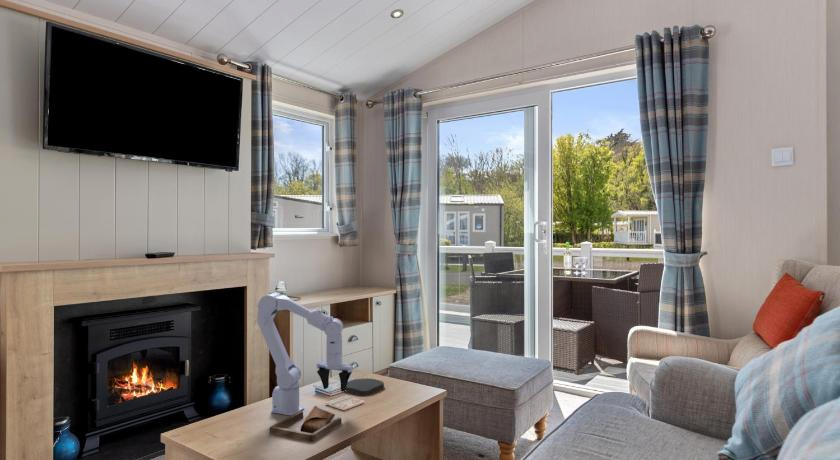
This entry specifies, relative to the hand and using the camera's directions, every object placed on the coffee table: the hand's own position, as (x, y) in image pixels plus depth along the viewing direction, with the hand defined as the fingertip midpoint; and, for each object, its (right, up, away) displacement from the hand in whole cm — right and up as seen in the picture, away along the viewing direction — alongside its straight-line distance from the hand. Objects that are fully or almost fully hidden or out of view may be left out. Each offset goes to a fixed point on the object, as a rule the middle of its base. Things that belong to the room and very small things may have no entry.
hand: (334, 389), depth 185 cm
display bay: (-7, -8, -16) cm, 19 cm away
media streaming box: (+8, -9, +26) cm, 29 cm away
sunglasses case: (-4, -9, -11) cm, 15 cm away
